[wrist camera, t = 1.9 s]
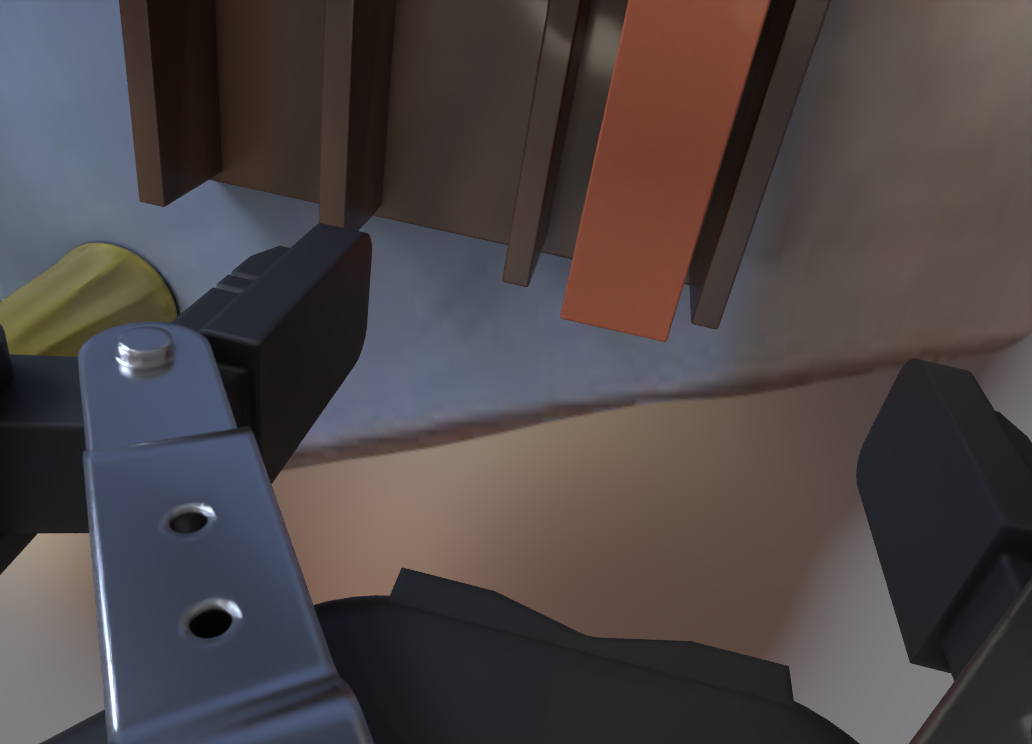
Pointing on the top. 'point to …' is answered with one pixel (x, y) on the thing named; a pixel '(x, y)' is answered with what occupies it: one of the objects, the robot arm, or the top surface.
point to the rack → (432, 115)
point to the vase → (83, 301)
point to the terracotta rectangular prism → (658, 158)
